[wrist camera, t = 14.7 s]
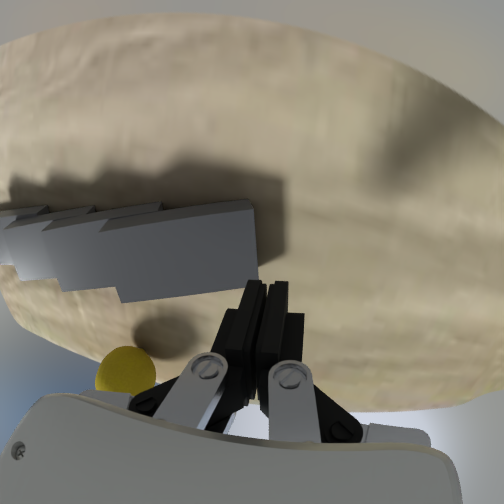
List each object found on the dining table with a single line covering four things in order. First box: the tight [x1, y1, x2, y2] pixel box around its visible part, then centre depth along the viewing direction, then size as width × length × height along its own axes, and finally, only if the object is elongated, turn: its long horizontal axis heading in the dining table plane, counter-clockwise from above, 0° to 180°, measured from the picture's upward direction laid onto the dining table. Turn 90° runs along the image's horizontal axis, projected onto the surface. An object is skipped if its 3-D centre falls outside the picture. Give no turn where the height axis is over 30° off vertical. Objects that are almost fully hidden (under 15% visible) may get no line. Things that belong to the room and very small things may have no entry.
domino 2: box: [2, 206, 96, 281], centre depth 19 cm, size 2×5×9 cm
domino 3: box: [41, 201, 163, 292], centre depth 18 cm, size 2×5×9 cm
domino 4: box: [98, 199, 259, 303], centre depth 17 cm, size 2×5×9 cm
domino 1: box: [0, 205, 49, 265], centre depth 20 cm, size 2×5×9 cm
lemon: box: [95, 346, 156, 396], centre depth 23 cm, size 6×6×8 cm
